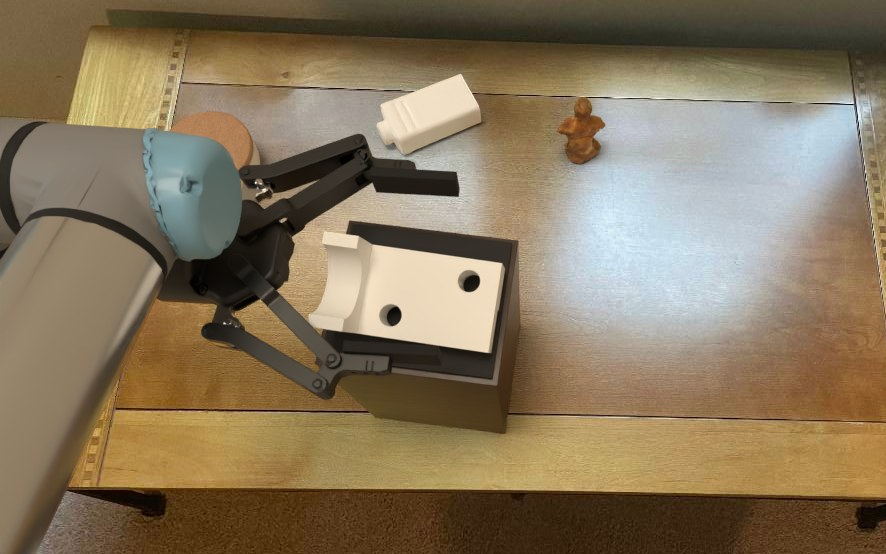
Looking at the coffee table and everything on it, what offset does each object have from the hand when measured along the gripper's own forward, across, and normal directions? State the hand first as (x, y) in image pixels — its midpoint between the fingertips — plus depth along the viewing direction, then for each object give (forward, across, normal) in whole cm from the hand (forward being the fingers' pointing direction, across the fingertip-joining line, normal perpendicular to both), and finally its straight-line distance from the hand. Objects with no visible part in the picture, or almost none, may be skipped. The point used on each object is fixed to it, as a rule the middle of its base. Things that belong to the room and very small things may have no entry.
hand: (449, 266), depth 53 cm
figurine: (+11, -30, -33) cm, 46 cm away
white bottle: (-9, -34, -33) cm, 48 cm away
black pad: (-3, 0, -8) cm, 9 cm away
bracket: (-3, +1, -8) cm, 8 cm away
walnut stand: (-3, 0, -33) cm, 33 cm away
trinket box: (-34, -23, -33) cm, 53 cm away
